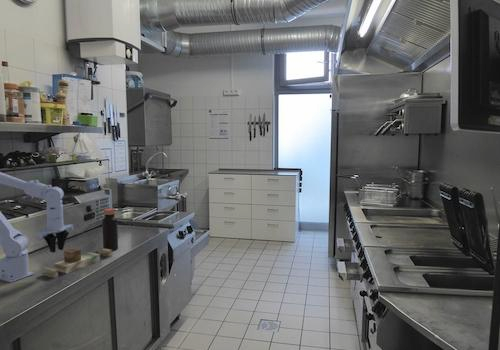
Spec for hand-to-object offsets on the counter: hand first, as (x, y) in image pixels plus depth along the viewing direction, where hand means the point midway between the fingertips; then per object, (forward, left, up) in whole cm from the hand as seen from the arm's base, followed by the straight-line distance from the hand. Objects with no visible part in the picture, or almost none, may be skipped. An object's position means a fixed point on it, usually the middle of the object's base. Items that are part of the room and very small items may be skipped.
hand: (56, 250), depth 142 cm
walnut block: (+7, 0, -6) cm, 9 cm away
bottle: (+32, +5, -10) cm, 34 cm away
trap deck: (+11, 0, -9) cm, 14 cm away
